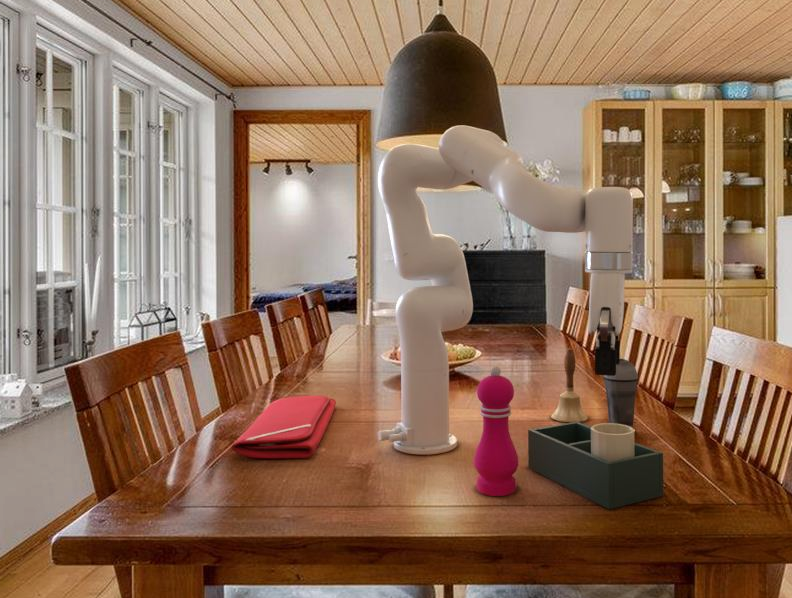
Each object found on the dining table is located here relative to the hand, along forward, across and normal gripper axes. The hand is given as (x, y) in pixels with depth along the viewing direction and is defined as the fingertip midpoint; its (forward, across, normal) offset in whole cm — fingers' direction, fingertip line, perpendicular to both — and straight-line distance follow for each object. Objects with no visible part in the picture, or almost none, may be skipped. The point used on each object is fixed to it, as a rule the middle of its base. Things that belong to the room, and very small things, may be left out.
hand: (607, 369), depth 107 cm
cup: (+18, 0, +1) cm, 19 cm away
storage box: (+20, -3, -3) cm, 20 cm away
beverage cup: (+20, -34, 0) cm, 39 cm away
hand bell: (+20, -43, -12) cm, 49 cm away
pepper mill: (+20, +5, -17) cm, 27 cm away
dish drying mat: (+21, -17, -68) cm, 73 cm away
